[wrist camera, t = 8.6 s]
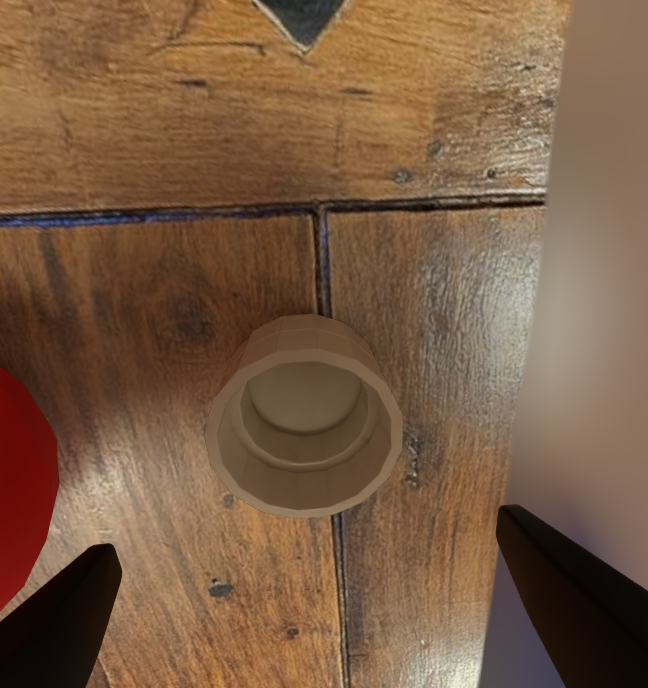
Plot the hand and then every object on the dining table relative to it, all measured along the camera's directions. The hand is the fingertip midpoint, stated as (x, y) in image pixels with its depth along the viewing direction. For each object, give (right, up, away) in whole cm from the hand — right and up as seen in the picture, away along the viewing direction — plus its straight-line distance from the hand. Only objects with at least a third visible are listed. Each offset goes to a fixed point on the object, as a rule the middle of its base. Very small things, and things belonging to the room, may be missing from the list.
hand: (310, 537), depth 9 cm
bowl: (0, +3, +8) cm, 8 cm away
